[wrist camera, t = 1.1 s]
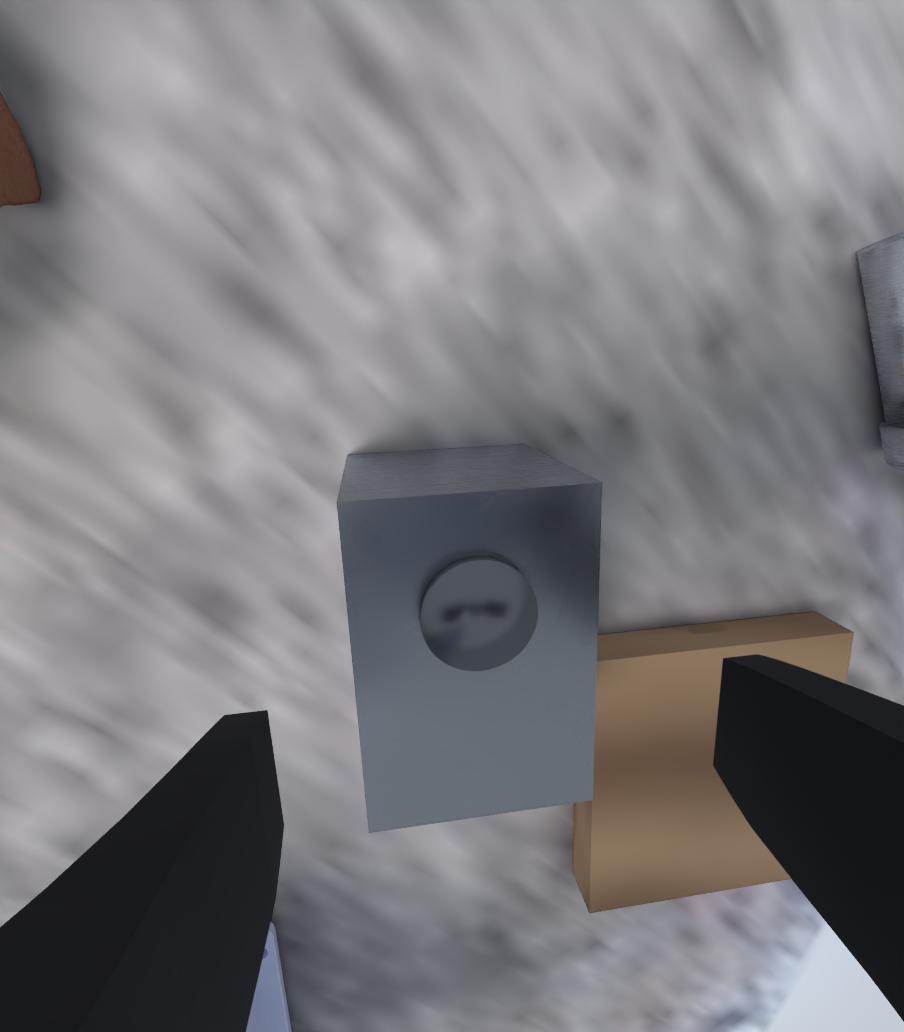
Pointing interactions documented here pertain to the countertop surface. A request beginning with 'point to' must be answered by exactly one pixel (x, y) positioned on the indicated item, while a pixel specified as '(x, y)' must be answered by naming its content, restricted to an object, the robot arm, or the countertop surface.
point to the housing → (471, 630)
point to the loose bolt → (887, 335)
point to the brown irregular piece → (15, 163)
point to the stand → (678, 759)
